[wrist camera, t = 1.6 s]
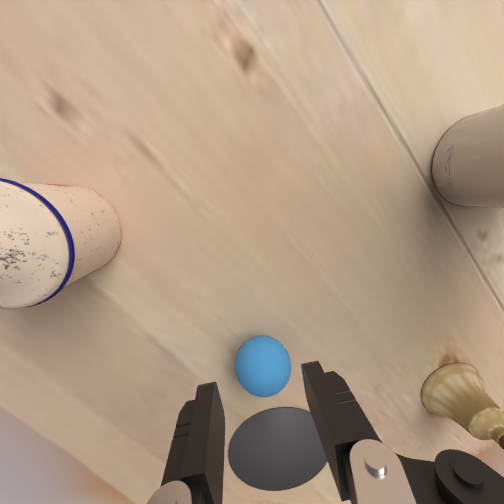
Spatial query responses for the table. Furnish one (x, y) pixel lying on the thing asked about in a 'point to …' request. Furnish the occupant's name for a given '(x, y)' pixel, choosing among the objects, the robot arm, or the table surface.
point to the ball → (263, 366)
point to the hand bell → (464, 401)
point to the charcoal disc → (277, 449)
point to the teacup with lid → (51, 239)
